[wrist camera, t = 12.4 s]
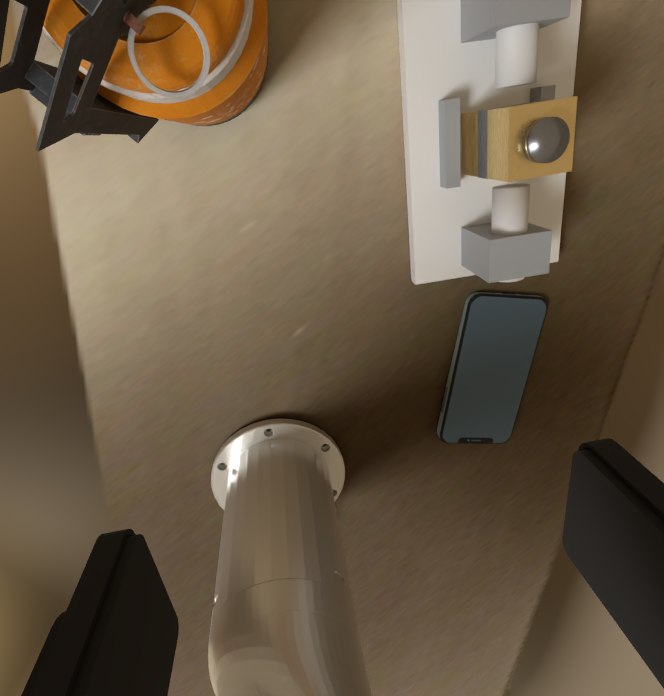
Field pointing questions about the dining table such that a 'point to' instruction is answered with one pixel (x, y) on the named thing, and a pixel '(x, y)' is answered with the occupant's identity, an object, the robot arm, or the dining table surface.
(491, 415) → the smartphone
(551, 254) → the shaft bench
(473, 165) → the block
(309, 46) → the dining table surface
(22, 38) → the canister
